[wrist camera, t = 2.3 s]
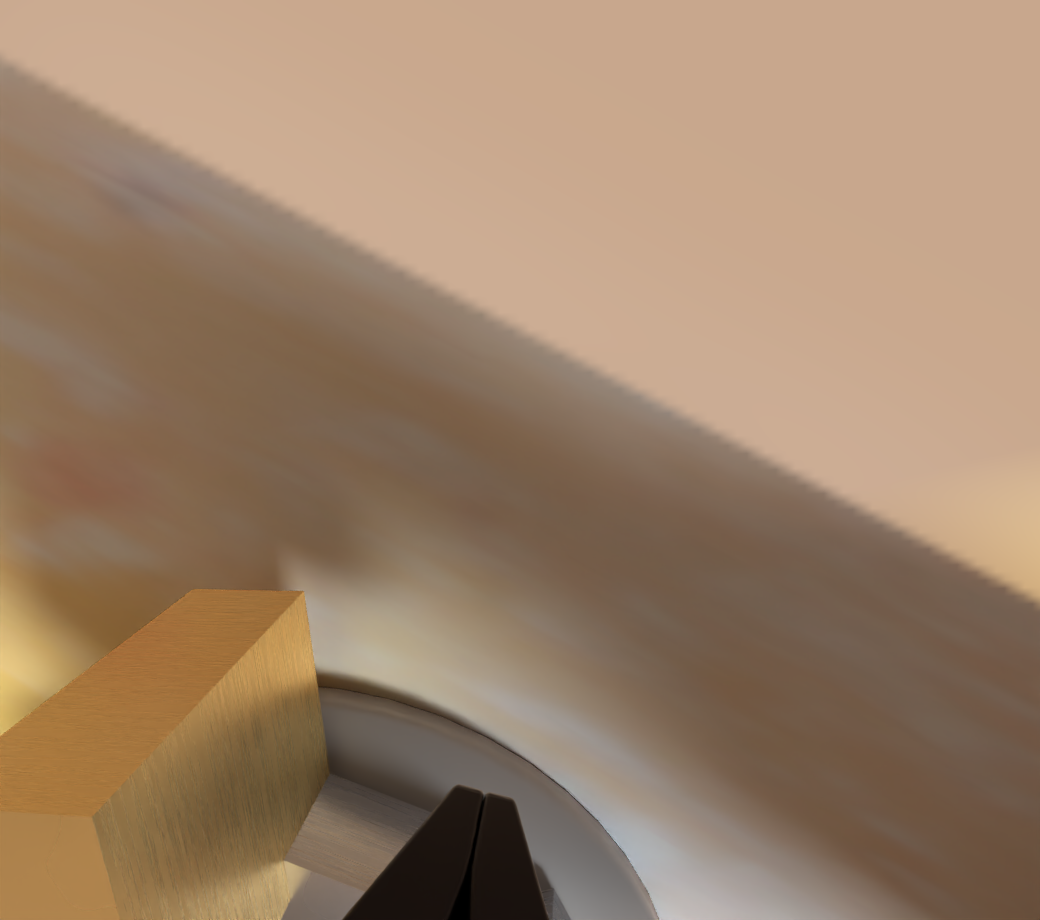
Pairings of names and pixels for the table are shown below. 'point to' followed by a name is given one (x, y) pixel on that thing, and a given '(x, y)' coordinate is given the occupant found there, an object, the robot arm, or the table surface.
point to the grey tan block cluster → (193, 781)
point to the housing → (491, 768)
